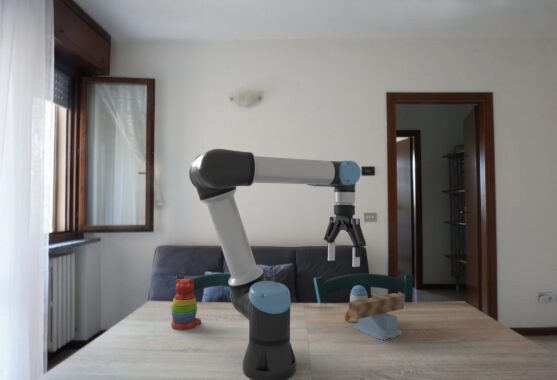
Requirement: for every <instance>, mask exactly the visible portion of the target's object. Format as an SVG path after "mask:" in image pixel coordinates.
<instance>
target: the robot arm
mask: <svg viewBox="0 0 557 380" xmlns="http://www.w3.org/2000/svg"><path fill="white" fill-rule="evenodd" d="M188 176H189V181H190V183H191V184H192V186H194V188H195V189H196V192H197V194H198V198H199V200H200V202H201V203H203V204H205V205H207V209H208V211H209V213H210V217H211V220H212V223H213V225H214V229H215V231H216V235H217V238H218V241H219V244H220V247H221V250H222V253H223V256H224V259H225V262H226V265H227V268H228V271H229V274H230V277H229V278H228V281H227V283H228V287H229V289H230V290H229V291H230V292H229V293H230V294H229V297H230V301H231V304H232V305H233V308H234V309H235V310H236V311H237V312H238V313H240V314H241V315H242V316H243V317H245V319H247V320H248V324H249V326H248V327H249V328H248V329H249V331H248V333H249V334H248V335H249V336H248V344H247V346H246V350H245V352H244V355H243V360H242V372H243V374H244V375H245V376H246V377H247V378H250V379H251V380H287V379H288V378H291V377H292V376H293V375H294V374H295V373H296V372H297V359H296V355H295V352H294V350H293V347H292V343H291V306H292V305H291V304H292V300H291V291H290V290H289V288H288V286H286V285H285V284H284V283H281V282H276V281H272V280H267V279H266V276H265V272H264V270H263V269H262V268H261V267H258V266H257V263H256V261H255V257H254V254H253V250H252V247H251V244H250V241H249V238H248V236H247V233H246V229H245V227H244V224H243V220H242V218H241V214H240V211H239V208H238V205H237V202H236V199H235V194H236V192H237V190H238V189H237V187H251V186H252V185H253V184H286V185H287V184H289V185H290V184H291V185H308V186H309V187H311V186H312V187H314V188H315V187H322V188H323V187H324V188H325V187H328V188H333V189H334V192H333V203H334V205H333V214H334V215H335V216H330V217H329V221H328V222H329V223H328V226H327V228H326V231H325V234H324V237H323V240H324V241H326V243H327V261H328V262H331V261H336V258H335V257H336V241H335V240H336V239H337V238H338V235H339V234H340V233H341V231H346V233H347V234H348V236H349V238H350V241H351V242H352V245H353V246H352V259H351V260H352V261H351V262H352V263H351V264H352V266H351V267H353V268H357V267H360V266H361V257H362V248H364V247H366V246H367V243H366V240H365V236H364V233H363V230H362V227H361V219H360V218H357V217H356V218H354V216H355V214H356V205H354V204H355V203H356V184H357V183H358V181H359V180H360V178H361V168H360V165H359V164H358V163H357V162H356V161H353V160H340V161H339V160H337V161H336V160H321V159H305V158H289V157H276V156H275V157H274V156H273V157H272V156H260V155H259V156H257V155H255V154H254V153H253V152H251V151H240V150H232V149H225V148H214V149H209V150H208V151H206V152H203V153H201V154H199V155H197V156H196V157H195V158H194V159H193V161H192V162H191V164H190V166H189V169H188Z"/></svg>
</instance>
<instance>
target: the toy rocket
mask: <svg viewBox="0 0 557 380" xmlns="http://www.w3.org/2000/svg"><path fill="white" fill-rule="evenodd" d="M367 298H368V291H367V290H366V288H365V287H364V286H363V285H359V284H357V285H355V286H353V287H352V289H351V290H350V296H349V302H351V301H356V300H361V299H367ZM351 318H352V317H350V316H349V309H348V310H346V312H345V315H344V321H345V322H346V321H348V322H349V321H350V319H351Z"/></svg>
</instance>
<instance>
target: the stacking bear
mask: <svg viewBox="0 0 557 380" xmlns="http://www.w3.org/2000/svg"><path fill="white" fill-rule="evenodd" d="M194 288H195V281H194V280H193V278H190V279H189V278H178V279H176V285H175V290H176V294H174V297H173V301H172V304H171V311H170V312H171V318H172V321H171V324H170V325H171V328H172V329H173V330H177V331H186V330H191V329H194V328H196V327H198V326H200V324H201V323H202V320H201V318H199V317H197V312H198V304H197V300H196V296H195V294H194V293H193V291H194Z"/></svg>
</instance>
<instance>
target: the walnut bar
mask: <svg viewBox="0 0 557 380" xmlns="http://www.w3.org/2000/svg"><path fill="white" fill-rule="evenodd" d="M404 298H405V297H404V294H400V293H396V292H394V293H393V292H392V293H388V294H383V295H379V296H372V297H369V298H367V299H361V300H356V301H351V302H350V301H349V302H348V310H349V316H350V317H351V318H352V319H355V320H358V319H361V318H366V317H370V316H374V315H378V314H383V313H391V312H395V311H400V310H403V309H405V308H404V305H405V304H404V303H405V302H404V301H405V300H404Z"/></svg>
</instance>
